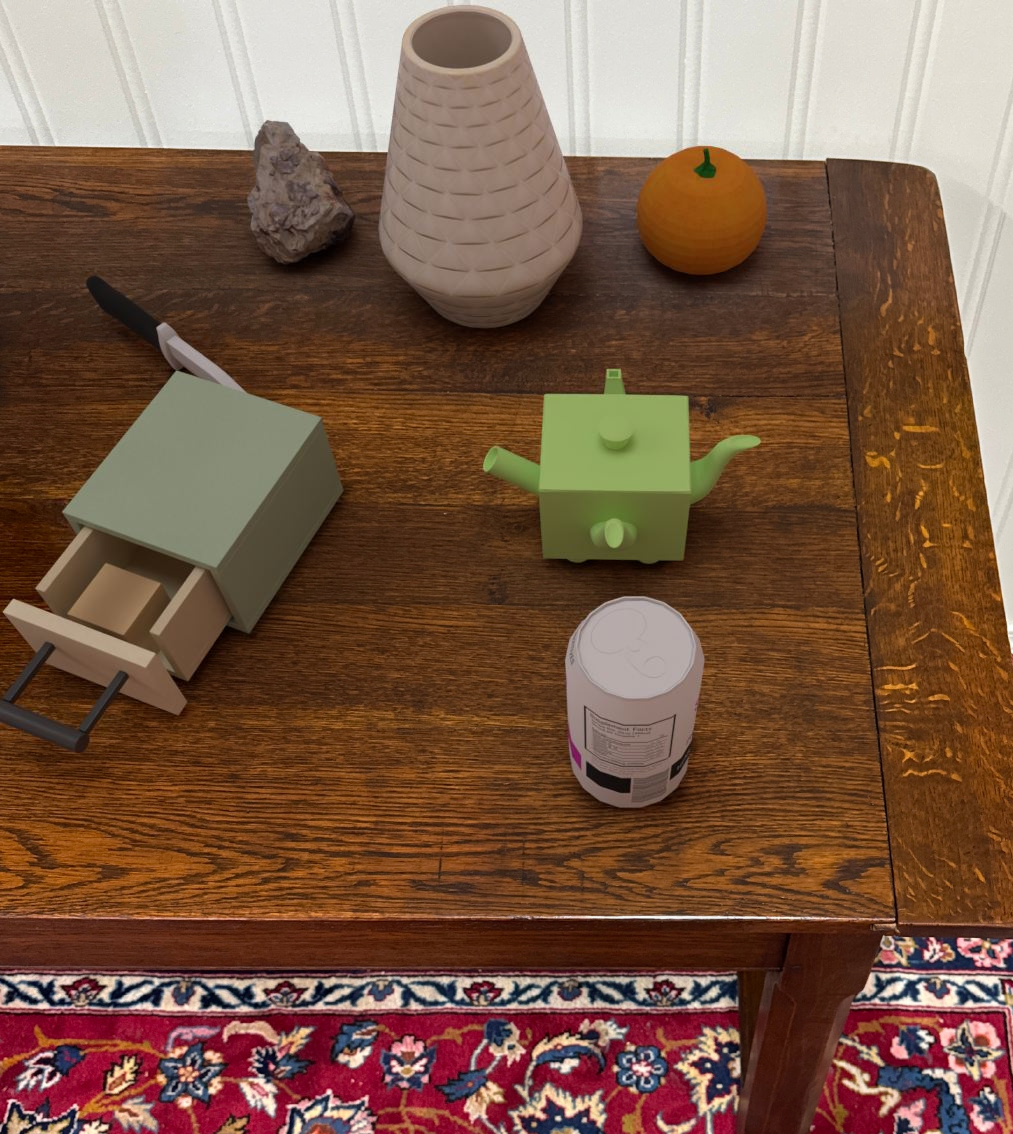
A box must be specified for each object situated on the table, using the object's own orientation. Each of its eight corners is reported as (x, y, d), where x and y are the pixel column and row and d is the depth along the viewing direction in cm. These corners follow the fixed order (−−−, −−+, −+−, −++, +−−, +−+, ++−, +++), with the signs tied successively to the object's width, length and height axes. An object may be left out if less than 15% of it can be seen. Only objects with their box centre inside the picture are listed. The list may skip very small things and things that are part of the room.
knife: (304, 448, 93) (290, 405, 89) (288, 460, 93) (273, 418, 88) (115, 310, 102) (94, 265, 97) (99, 321, 101) (77, 276, 97)
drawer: (128, 791, 77) (89, 747, 71) (-10, 734, 79) (-58, 686, 73) (276, 569, 86) (253, 514, 80) (149, 524, 88) (117, 467, 82)
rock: (277, 300, 106) (322, 251, 98) (186, 196, 102) (224, 137, 95) (337, 253, 111) (384, 202, 103) (252, 152, 107) (294, 92, 100)
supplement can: (545, 751, 79) (536, 639, 66) (634, 684, 82) (642, 564, 69) (622, 835, 76) (628, 735, 63) (712, 762, 78) (735, 652, 66)
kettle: (746, 524, 89) (765, 427, 79) (622, 635, 84) (626, 546, 74) (608, 423, 94) (610, 321, 85) (484, 521, 89) (470, 425, 80)
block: (92, 648, 81) (66, 613, 77) (128, 598, 83) (105, 562, 80) (146, 669, 80) (123, 635, 76) (182, 618, 83) (161, 582, 79)
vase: (585, 222, 107) (583, -28, 87) (581, 356, 98) (578, 111, 78) (401, 221, 107) (357, -29, 88) (380, 354, 99) (326, 110, 79)
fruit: (608, 245, 106) (610, 149, 97) (697, 189, 110) (706, 92, 101) (699, 310, 101) (708, 216, 92) (788, 249, 105) (805, 153, 96)
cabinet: (249, 634, 84) (216, 567, 77) (106, 581, 87) (61, 511, 79) (344, 490, 91) (321, 416, 84) (209, 445, 94) (176, 369, 86)
